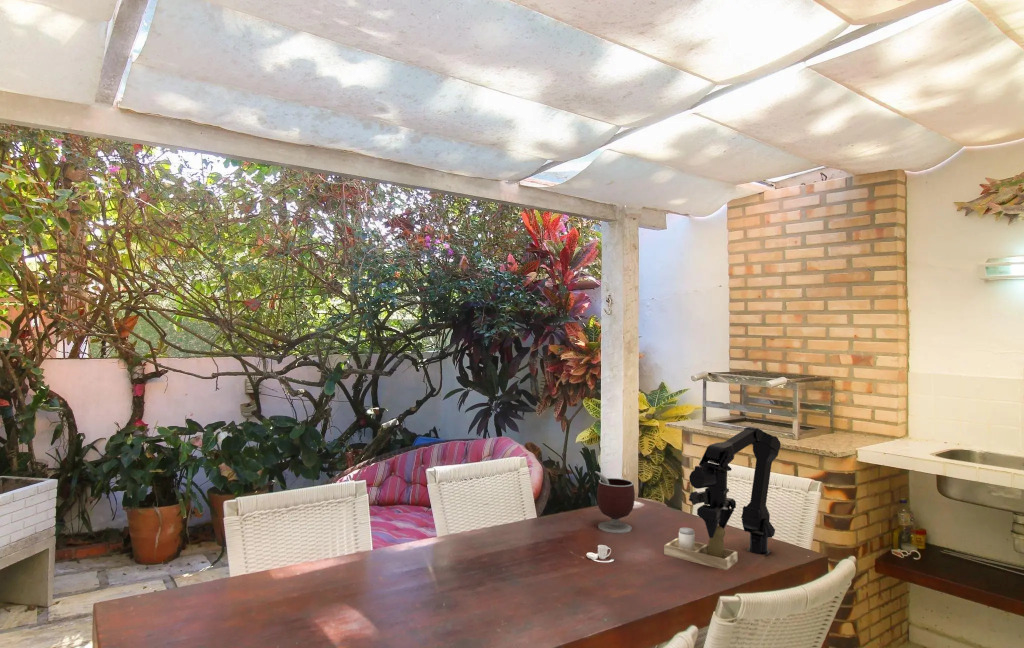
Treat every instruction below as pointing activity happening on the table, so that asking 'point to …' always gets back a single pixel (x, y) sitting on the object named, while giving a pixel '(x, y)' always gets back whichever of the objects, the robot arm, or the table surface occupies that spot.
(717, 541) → the olive tapered block
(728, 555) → the caddy
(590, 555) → the teacup and saucer
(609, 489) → the mate gourd
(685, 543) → the salt shaker
